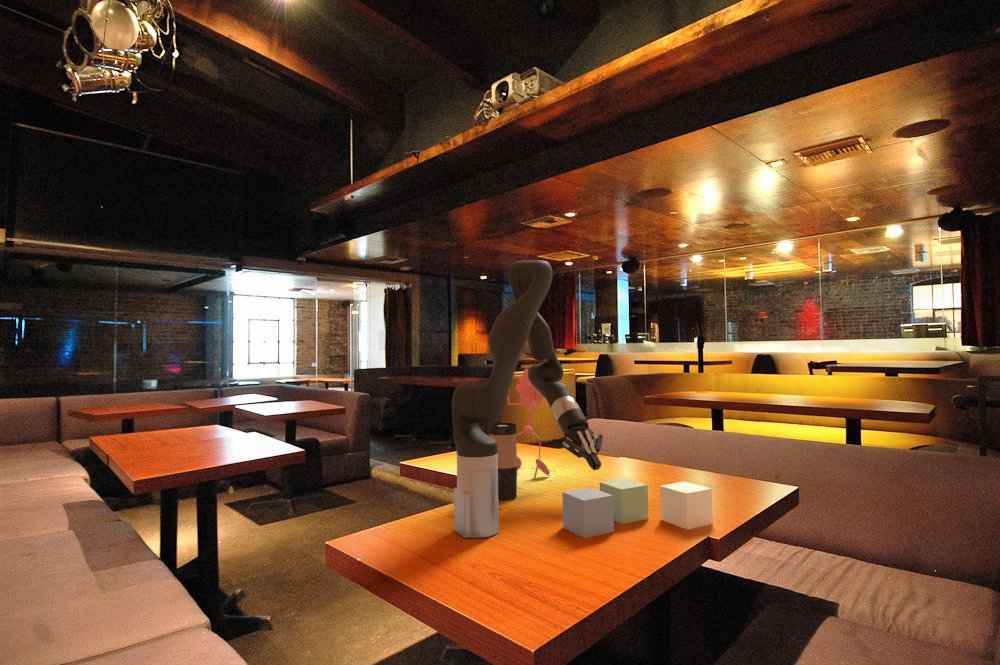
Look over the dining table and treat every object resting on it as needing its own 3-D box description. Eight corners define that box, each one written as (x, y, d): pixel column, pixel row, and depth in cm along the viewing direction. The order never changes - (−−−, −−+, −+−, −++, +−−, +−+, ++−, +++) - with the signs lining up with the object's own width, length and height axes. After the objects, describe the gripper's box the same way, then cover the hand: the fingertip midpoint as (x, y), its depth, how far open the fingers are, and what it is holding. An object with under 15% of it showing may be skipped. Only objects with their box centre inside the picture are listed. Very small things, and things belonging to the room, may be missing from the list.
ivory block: (687, 529, 114) (686, 493, 114) (661, 520, 121) (660, 485, 121) (712, 524, 118) (711, 488, 118) (685, 514, 125) (684, 481, 125)
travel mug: (521, 498, 140) (520, 425, 141) (495, 502, 137) (494, 427, 138) (511, 492, 147) (509, 422, 148) (486, 495, 145) (485, 423, 145)
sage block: (622, 524, 118) (621, 489, 119) (600, 515, 125) (599, 482, 126) (648, 519, 122) (647, 484, 122) (625, 510, 129) (625, 478, 129)
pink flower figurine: (555, 483, 156) (554, 368, 159) (489, 473, 172) (489, 368, 174) (580, 475, 168) (578, 368, 171) (516, 466, 184) (516, 368, 186)
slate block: (584, 538, 110) (583, 500, 110) (563, 527, 117) (562, 492, 117) (613, 532, 113) (612, 495, 114) (591, 522, 120) (590, 487, 121)
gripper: (554, 409, 139) (582, 463, 128) (593, 405, 145) (624, 456, 134) (544, 426, 144) (570, 479, 132) (582, 422, 150) (611, 473, 138)
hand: (597, 468), depth 133 cm, fingers closed
